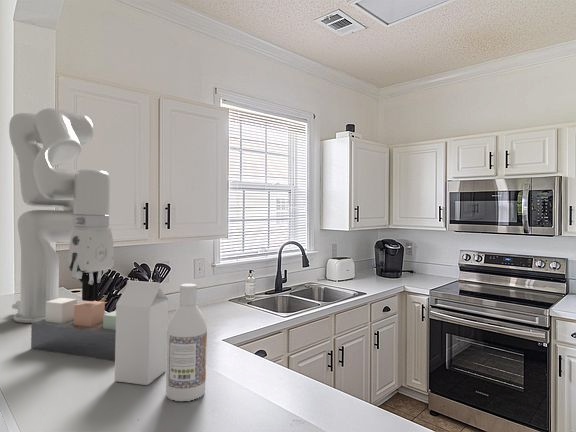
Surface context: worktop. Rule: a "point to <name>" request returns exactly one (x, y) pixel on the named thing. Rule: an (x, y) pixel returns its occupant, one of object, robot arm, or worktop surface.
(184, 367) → the bath foam
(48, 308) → the ivory key
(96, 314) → the peach key
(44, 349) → the grey socket block
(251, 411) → the worktop surface
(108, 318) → the pale green block
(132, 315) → the milk carton
